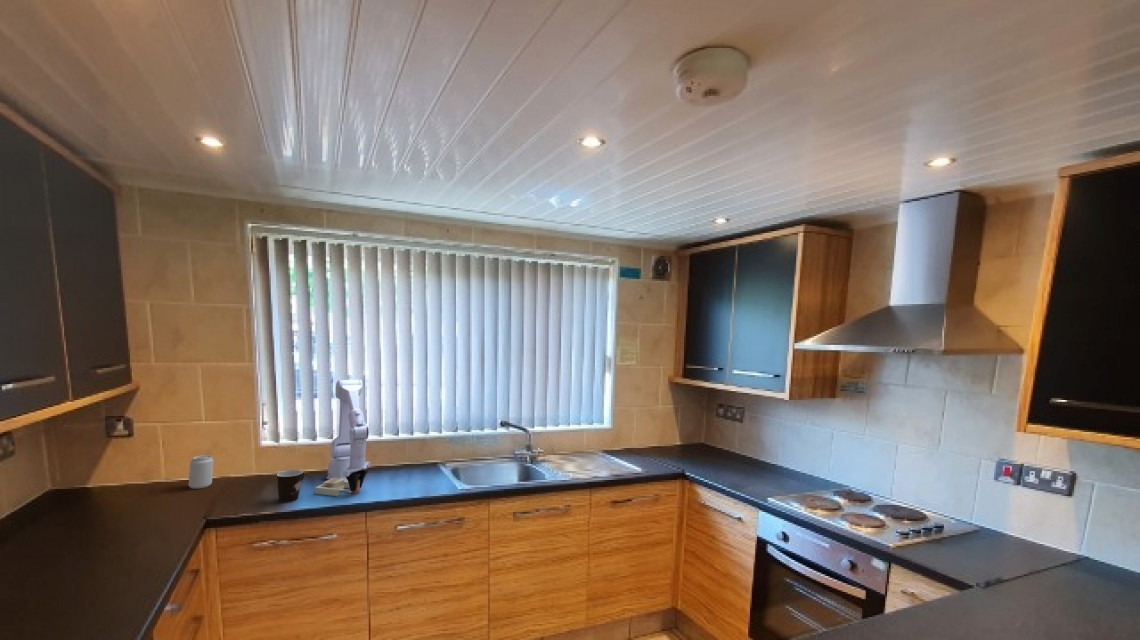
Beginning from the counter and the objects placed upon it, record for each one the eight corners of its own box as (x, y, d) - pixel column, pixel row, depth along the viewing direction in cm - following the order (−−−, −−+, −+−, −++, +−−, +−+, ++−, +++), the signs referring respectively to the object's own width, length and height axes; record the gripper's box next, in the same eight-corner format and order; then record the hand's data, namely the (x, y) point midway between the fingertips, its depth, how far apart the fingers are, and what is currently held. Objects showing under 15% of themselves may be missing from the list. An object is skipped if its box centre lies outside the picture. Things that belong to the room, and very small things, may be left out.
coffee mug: (282, 505, 172) (284, 478, 173) (270, 500, 177) (272, 473, 177) (313, 496, 182) (315, 471, 183) (301, 492, 187) (303, 467, 187)
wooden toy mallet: (322, 492, 187) (323, 479, 187) (333, 487, 194) (333, 475, 194) (353, 495, 185) (354, 483, 185) (363, 490, 191) (364, 478, 191)
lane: (314, 493, 185) (315, 487, 186) (333, 485, 196) (333, 479, 196) (337, 496, 184) (338, 489, 184) (355, 487, 194) (355, 481, 195)
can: (184, 487, 187) (186, 457, 187) (204, 482, 194) (206, 453, 194) (195, 490, 184) (197, 460, 184) (216, 485, 191) (218, 455, 191)
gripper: (355, 460, 181) (353, 496, 181) (376, 452, 195) (375, 484, 195) (339, 459, 182) (337, 494, 182) (361, 450, 197) (359, 483, 196)
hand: (355, 489), depth 188 cm, fingers open, 3 cm apart
